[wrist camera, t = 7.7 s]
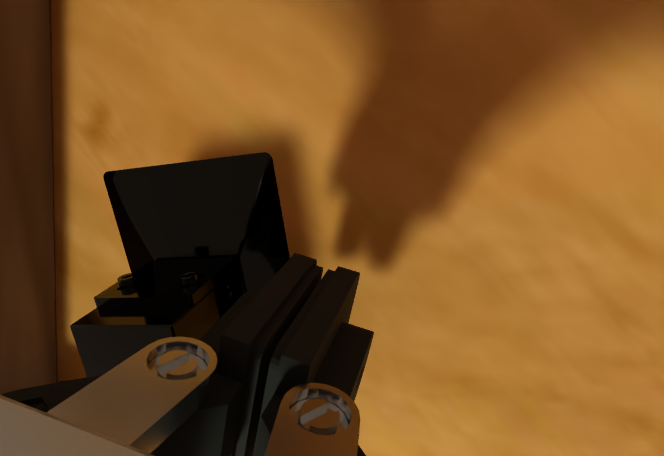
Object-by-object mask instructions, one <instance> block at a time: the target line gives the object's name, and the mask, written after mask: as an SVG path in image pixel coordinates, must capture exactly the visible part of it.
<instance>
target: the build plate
mask: <svg viewBox="0 0 664 456" xmlns="http://www.w3.org/2000/svg"><path fill="white" fill-rule="evenodd" d="M104 181H105V185H106V188H107V192H108V195H109V198H110V202H111V205H112V208H113V212H114V215H115V219H116V222H117V225H118V229H119V232H120V236H121V239H122V242H123V246H124V249H125V253H126V256H127V259H128V263H129V266H130V269H131V273H129V274H125V275H122V276H120V277H119V278H118V282H117V283H115V284H114V285H112V286H111V287H109V288H108V289H106V290H105V291H103V292H101V293H100V294H98V295H97V296H95V297H94V300H95V303H96V306H97V308H96V309H94V310H93V311H91V312H90V313H88V314H87V315H85V316H84V317H82V318H81V319H79V320H78V321H76V322H75V323H73V324H72V325H71V326H70V328H71V331H72V334H73V336H74V339H75V342H76V345H77V348H78V351H79V354H80V357H81V360H82V363H83V366H84V369H85V372H86V375H87V378H88V377H94V376H100V375H104V374H105V373H107V372H108V371H110V370H111V369H113V368H114V367H116V366H117V365H119V364H120V363H122V362H123V361H125V360H126V359H128V358H129V357H131V356H132V355H134V354H135V353H137V352H138V351H140V350H141V349H143V348H144V347H146V346H147V345H149V344H151V343H153V342H155V341H157V340H160V339H164V338H168V337H188V338H194V339H197V340H200V339H201V338H202V337H203V335H204V334H205V333H206V332H207V331H208V330H209V329H210V328H211V327H212V326H213V325H214V324H215V323H216V322H217V321H218V320H219V319H220V318H221V317H222V316H223V315H224V314H225V313H226V312H227V311H228V310H229V309H230V307H231V306H232V305H233V304H234V303H235V302H236V301H237V300H238V299H239V298H240V297H241V296H242V295H243V294H244V293H246V292H251V293H254V294H258V293H259V292H260V291H261V290H262V289H263V288H264V287H265V286H266V284H267V283H268V282H269V281H270V280H271V279H272V278H273V277H274V276H275V275H276V273H277V272H278V271H279V270H280V269H281V268H282V267H283V266H284V265H285V263H286V262H287V261H288V260H289V259H290V257H289V251H288V245H287V240H286V234H285V228H284V222H283V217H282V211H281V205H280V199H279V194H278V188H277V182H276V176H275V171H274V165H273V159H272V157H271V155H270V154H269V153H266V152H263V153H255V154H247V155H238V156H230V157H222V158H214V159H206V160H198V161H190V162H182V163H174V164H166V165H158V166H150V167H141V168H133V169H125V170H117V171H109V172H106V173H105V174H104Z"/></svg>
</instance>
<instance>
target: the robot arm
mask: <svg viewBox="0 0 664 456" xmlns="http://www.w3.org/2000/svg"><path fill="white" fill-rule="evenodd" d="M316 265H317V261H316V259H312V258H309V257H306V256H303V255H299V254H296V253H295V254H294V255H293V256H292V257H291V258H290V259H289V260H288V261H287V262H286V263H285V265H284V266H283V267H282V268H281V269H280V270H279V271H278V272H277V273H276V275H275V276H274V277H273V278H272V279H271V280H270V281H269V282H268V283H267V284H266V286H265V287H264V288H263V289H262V290H261V291H260V292H259V293H258V294H254V293H251V292H246V293H244V294H243V295H242V296H241V297H240V298H239V299H238V300H237V301H236V302H235V303H234V304H233V305H232V306H231V307H230V309H229V310H228V311H227V312H226V313H225V314H224V315H223V316H222V317H221V318H220V319H219V320H218V321H217V322H216V323H215V324H214V325H213V326H212V327H211V328H210V329H209V330H208V331H207V332H206V333H205V334H204V335H203V337H202V338H201V339H200V340H197V339H194V338H188V337H168V338H164V339H160V340H157V341H155V342H153V343H151V344H149V345H147V346H146V347H144V348H143V349H141V350H140V351H138V352H137V353H135V354H134V355H132V356H131V357H129V358H128V359H126V360H125V361H123V362H122V363H120V364H119V365H117V366H116V367H114V368H113V369H111V370H110V371H108V372H107V373H105V374H104V375H100V376H94V377H88V378H82V379H76V380H70V381H64V382H59V383H53V384H47V385H41V386H35V387H29V388H24V389H18V390H15V391H11V392H7V393H4V394H2V395H0V456H366V455H365V454H364V452H363V451H362V449H361V448H360V447H359V445H358V439H359V428H360V414H359V410H358V408H357V406H356V404H355V402H354V400H355V397H356V394H357V391H358V388H359V385H360V381H361V378H362V375H363V371H364V368H365V365H366V361H367V357H368V354H369V350H370V346H371V342H372V338H373V334H374V332H373V331H370V330H366V329H363V328H360V327H357V326H354V325H351V324H348V322H349V318H350V314H351V310H352V306H353V302H354V298H355V293H356V289H357V285H358V281H359V276H360V273H359V272H356V271H352V270H349V269H346V268H342V267H339V266H338V267H337V269H336V270H335V271H332V270H329V269H328V271H327V272H326V274H325V275H324V276H323V278H322V279H321V277H322V272H323V268H322V267H319V266H316Z"/></svg>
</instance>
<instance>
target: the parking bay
mask: <svg viewBox="0 0 664 456" xmlns="http://www.w3.org/2000/svg"><path fill="white" fill-rule="evenodd" d="M53 383H57V372H56V318H55V264H54V209H53V155H52V101H51V47H50V0H0V395H2V394H4V393H7V392H11V391H15V390H18V389H24V388H29V387H35V386H41V385H47V384H53Z"/></svg>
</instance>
